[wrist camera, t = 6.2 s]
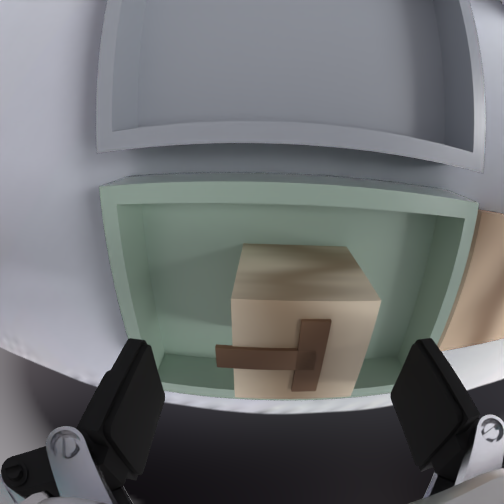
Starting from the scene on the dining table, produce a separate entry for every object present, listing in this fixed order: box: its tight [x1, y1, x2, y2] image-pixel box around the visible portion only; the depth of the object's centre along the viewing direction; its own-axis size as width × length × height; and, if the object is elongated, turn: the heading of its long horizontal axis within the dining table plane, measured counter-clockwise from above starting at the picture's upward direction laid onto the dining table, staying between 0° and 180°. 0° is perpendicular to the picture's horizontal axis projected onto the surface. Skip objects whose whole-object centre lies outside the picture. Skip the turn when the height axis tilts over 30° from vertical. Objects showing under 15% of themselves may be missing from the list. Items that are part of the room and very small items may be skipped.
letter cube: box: [215, 243, 381, 399], centre depth 12 cm, size 6×5×5 cm
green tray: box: [99, 172, 479, 400], centre depth 13 cm, size 17×12×3 cm
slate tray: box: [96, 0, 486, 173], centre depth 9 cm, size 17×12×3 cm
